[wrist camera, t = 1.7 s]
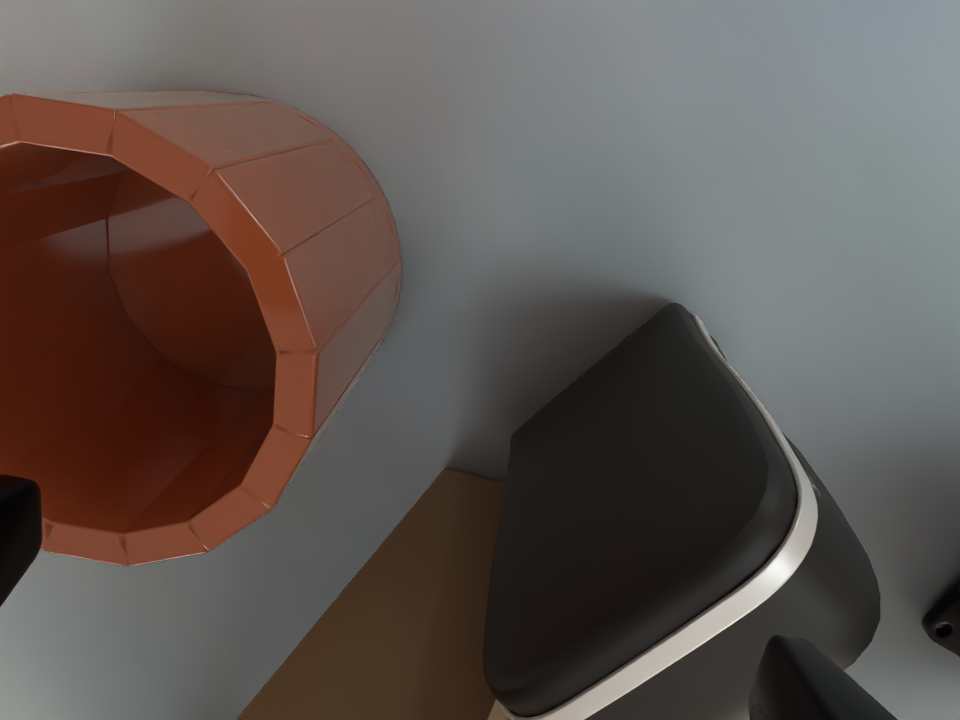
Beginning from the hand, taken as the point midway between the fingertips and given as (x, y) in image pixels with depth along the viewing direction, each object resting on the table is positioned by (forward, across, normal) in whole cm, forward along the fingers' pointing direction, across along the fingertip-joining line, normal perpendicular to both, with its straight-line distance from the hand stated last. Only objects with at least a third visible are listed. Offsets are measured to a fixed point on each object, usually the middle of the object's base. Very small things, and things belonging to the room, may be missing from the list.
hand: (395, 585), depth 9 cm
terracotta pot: (+14, +7, 0) cm, 15 cm away
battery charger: (+14, -5, +3) cm, 15 cm away
